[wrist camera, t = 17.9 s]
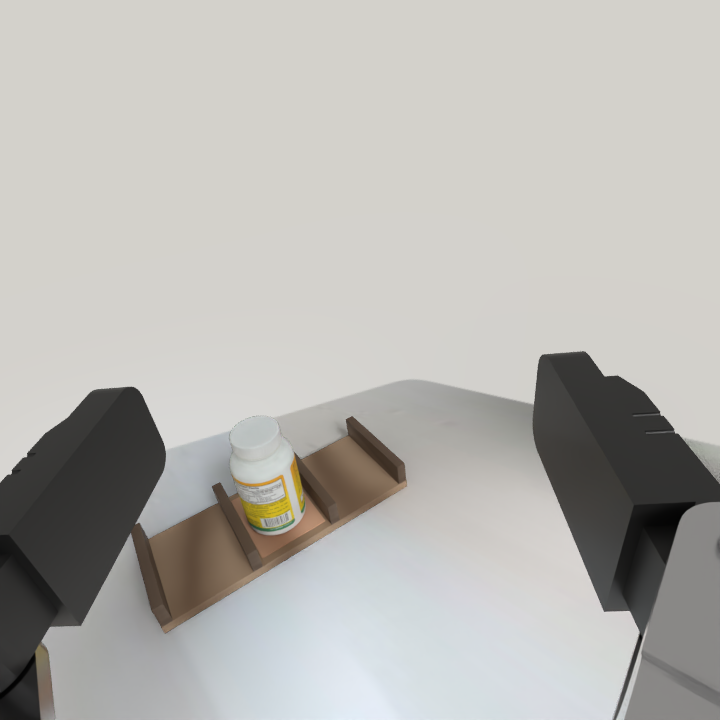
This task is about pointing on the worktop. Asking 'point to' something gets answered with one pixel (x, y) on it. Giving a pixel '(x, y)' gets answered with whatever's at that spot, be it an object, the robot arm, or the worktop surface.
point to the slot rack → (254, 550)
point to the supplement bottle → (266, 476)
